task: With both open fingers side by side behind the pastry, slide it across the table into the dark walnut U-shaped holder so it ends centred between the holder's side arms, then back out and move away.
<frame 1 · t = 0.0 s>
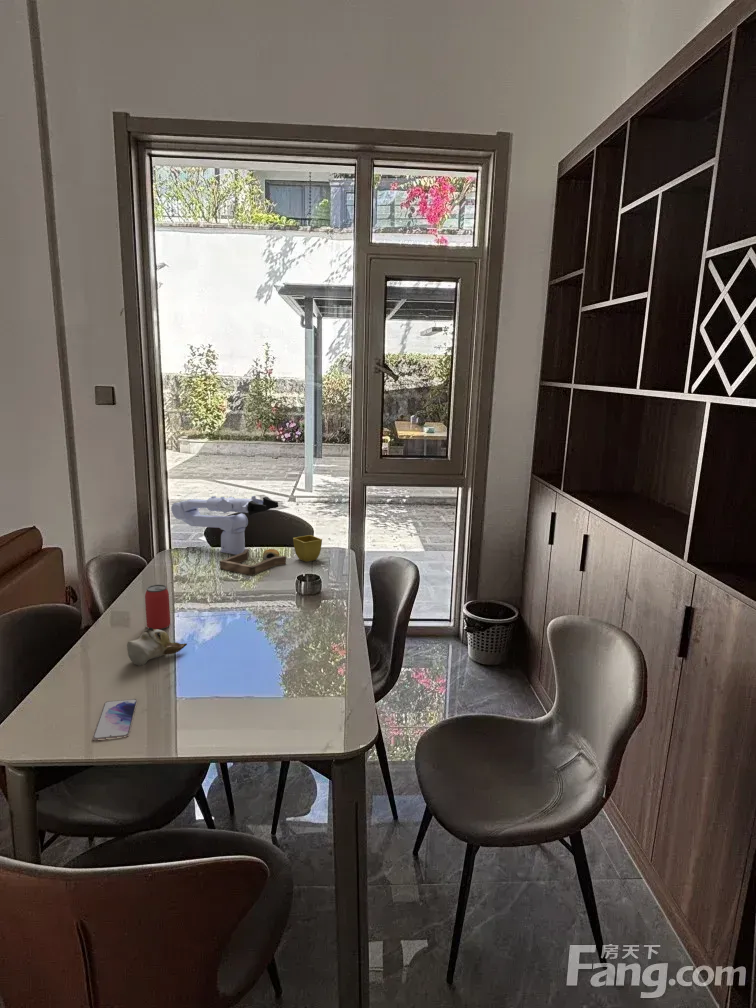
hand: (271, 506, 242), 22 cm above the table, fingers open, 7 cm apart
beer can: (158, 626, 179), on the table
holder: (249, 566, 236), on the table
flower pot: (307, 560, 246), on the table
pastry: (271, 558, 248), on the table
smartphone: (116, 722, 131), on the table
ceramic sculpture: (153, 658, 160), on the table
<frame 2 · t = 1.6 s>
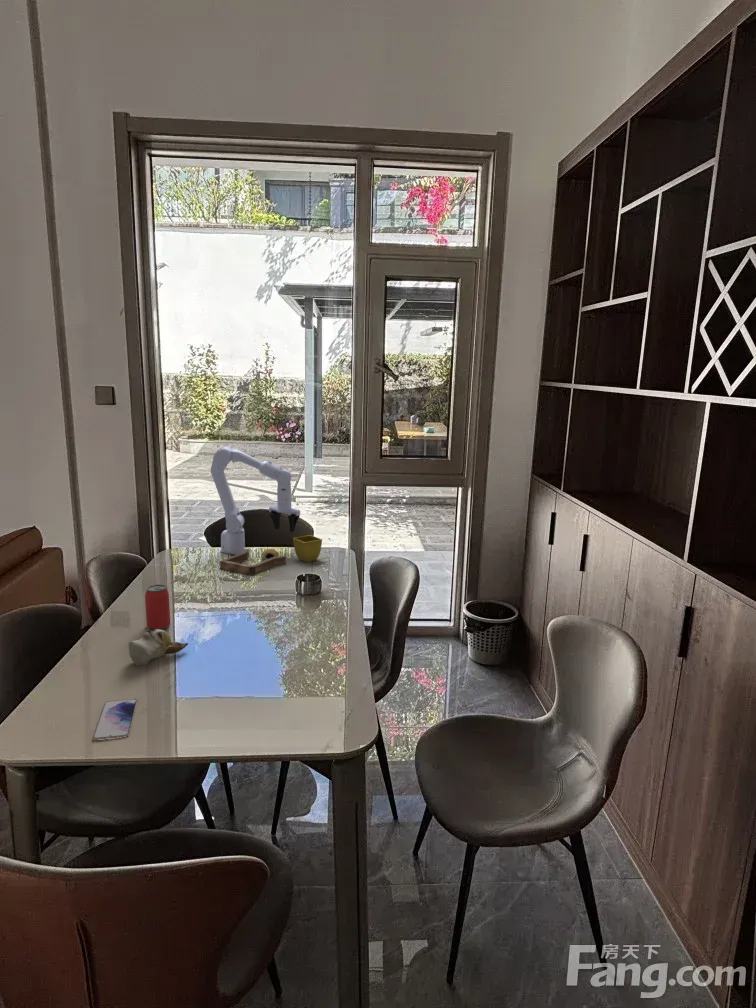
hand: (284, 530, 254), 9 cm above the table, fingers open, 7 cm apart
nothing on the table moved.
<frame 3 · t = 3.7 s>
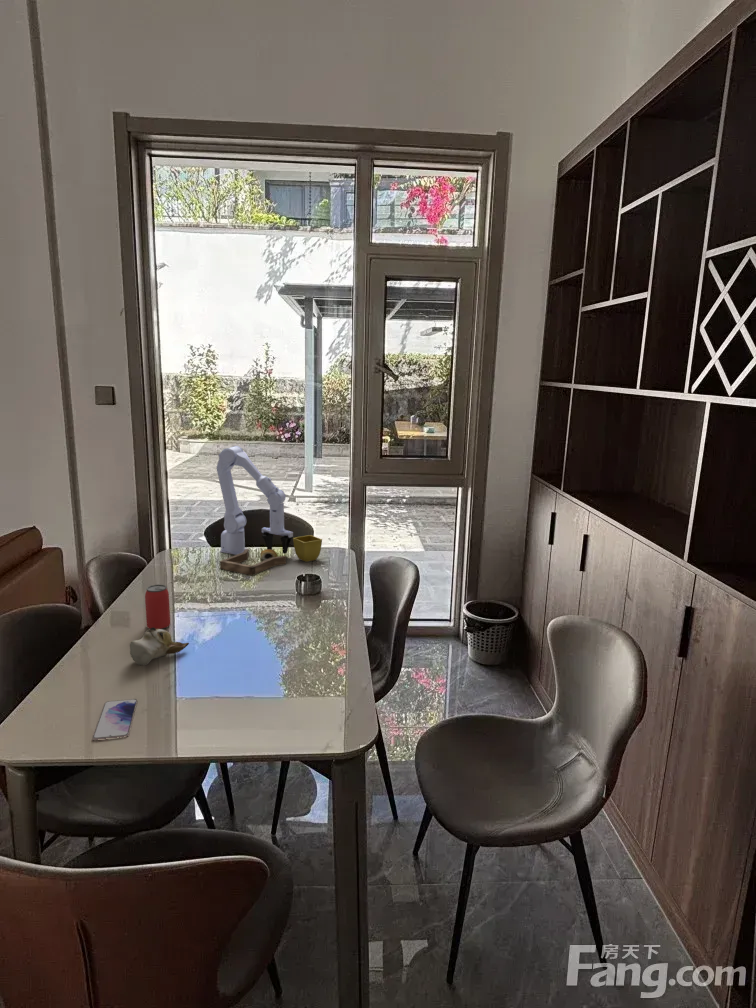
hand: (277, 551, 251), 1 cm above the table, fingers open, 7 cm apart
pastry: (268, 558, 247), on the table, touching gripper
everything else where it was.
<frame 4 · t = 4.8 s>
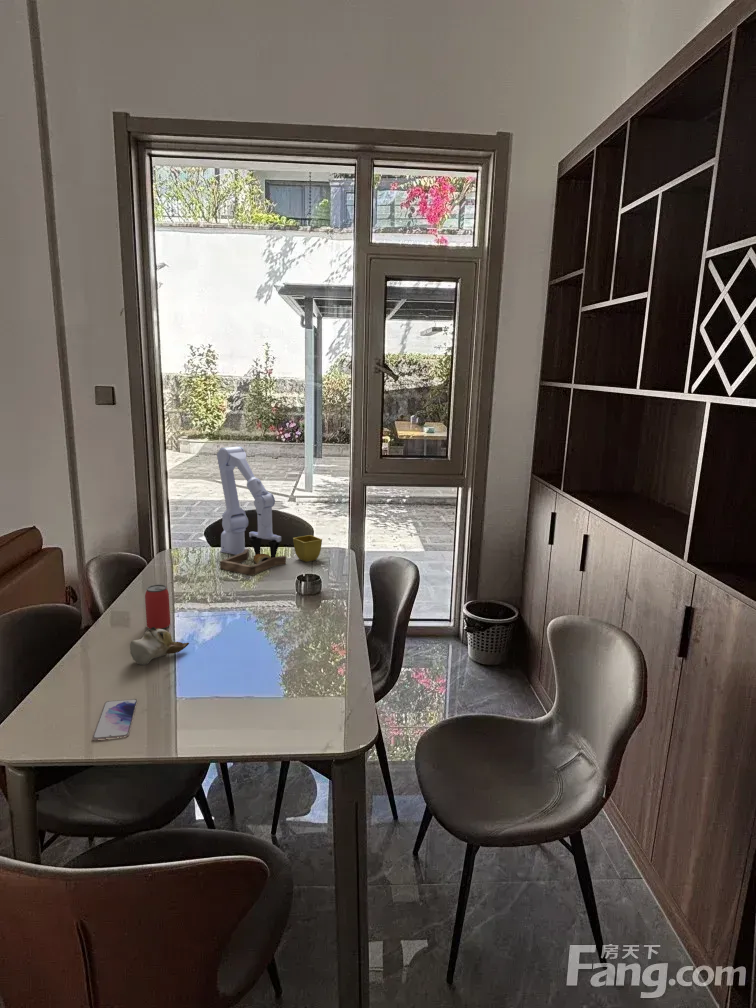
hand: (265, 556, 244), 1 cm above the table, fingers open, 7 cm apart
pastry: (262, 563, 241), on the table, touching gripper
everything else where it was.
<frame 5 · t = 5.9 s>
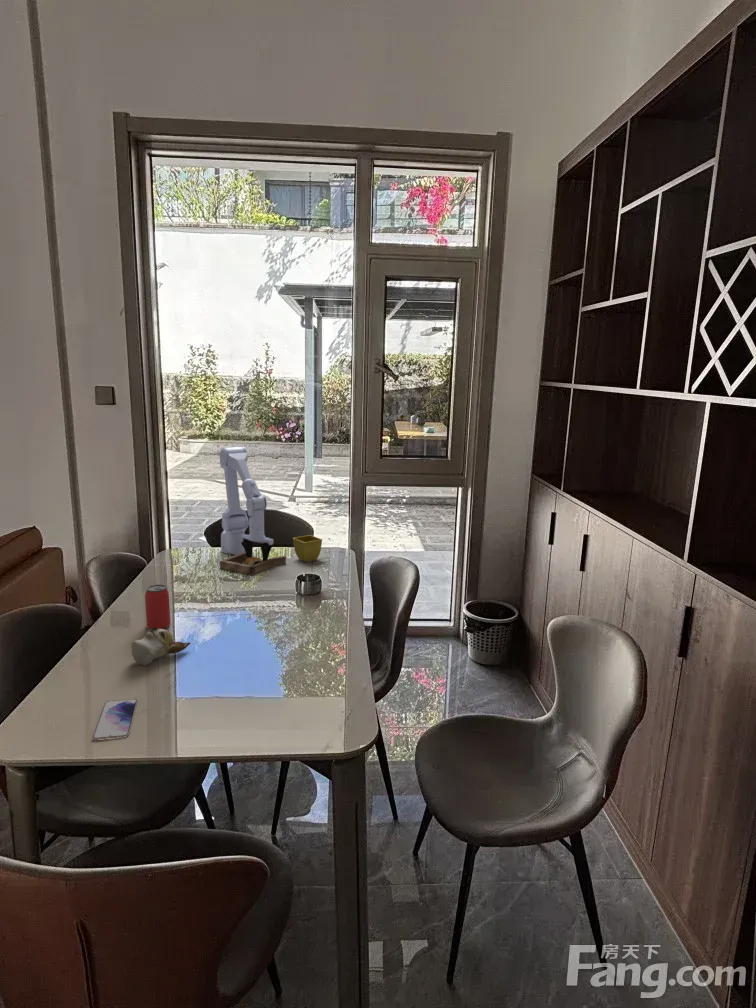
hand: (257, 559, 240), 1 cm above the table, fingers open, 7 cm apart
pastry: (253, 567, 236), on the table, touching gripper
everything else where it was.
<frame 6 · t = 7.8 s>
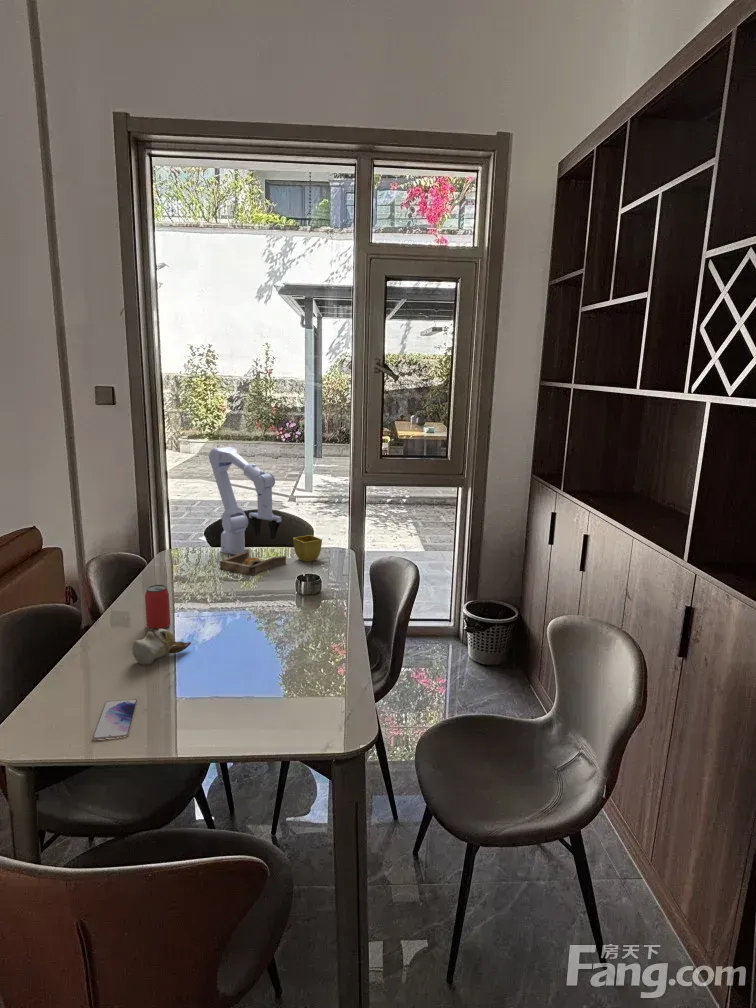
hand: (265, 537, 243), 9 cm above the table, fingers open, 7 cm apart
pastry: (252, 567, 236), on the table
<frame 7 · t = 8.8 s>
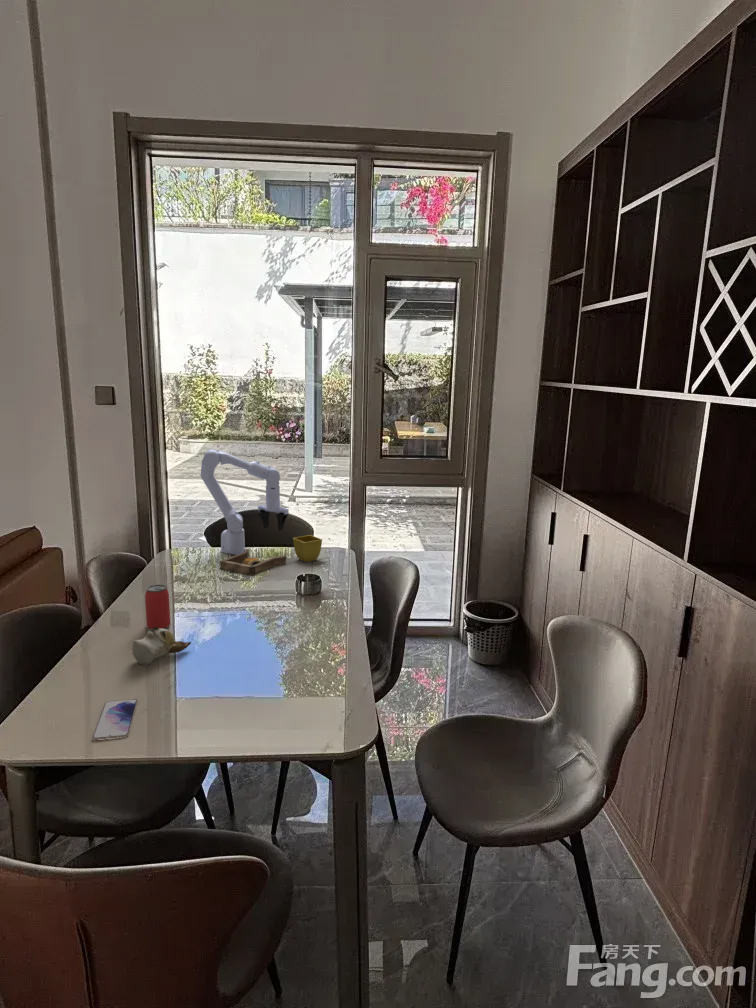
hand: (273, 528, 256), 9 cm above the table, fingers open, 7 cm apart
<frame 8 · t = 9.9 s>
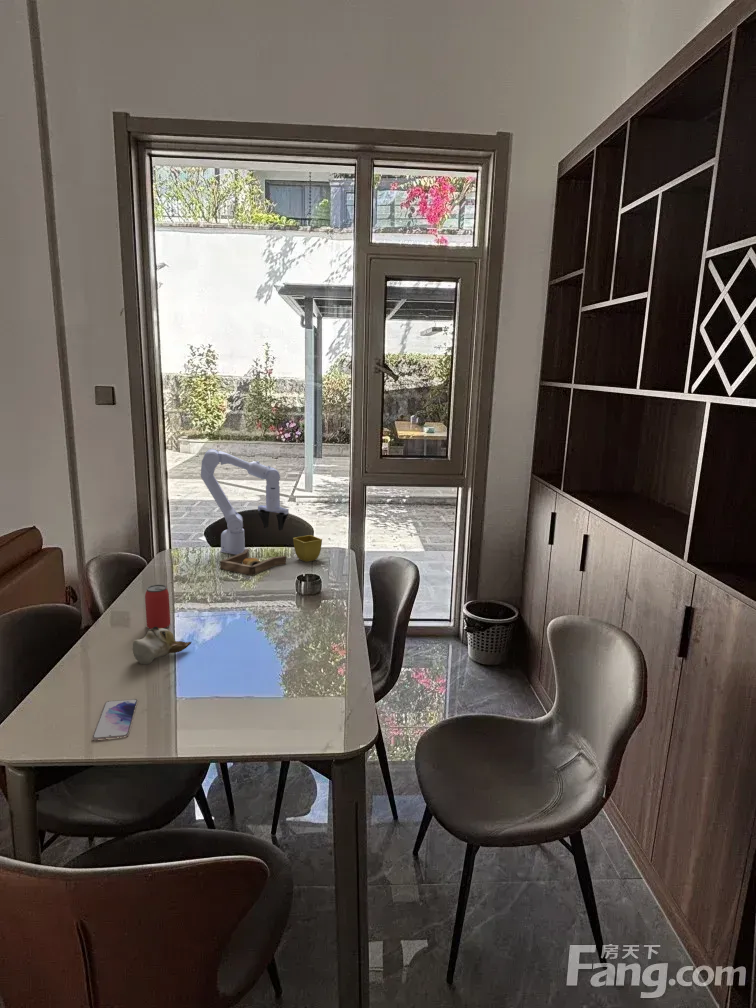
hand: (273, 528, 256), 9 cm above the table, fingers open, 7 cm apart
at the end: pastry 0.9 cm off-centre on the holder, point -0.5 cm above the holder's base; pastry moved 13.8 cm from its start; the gripper is holding nothing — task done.
